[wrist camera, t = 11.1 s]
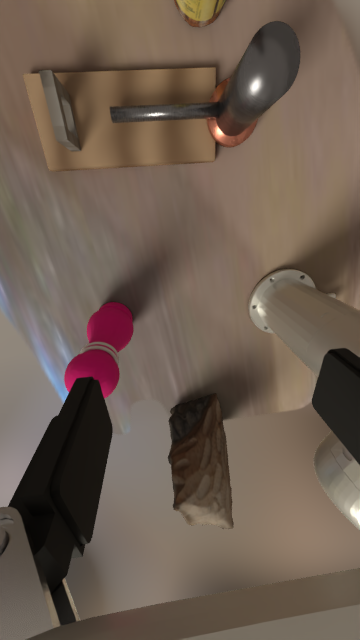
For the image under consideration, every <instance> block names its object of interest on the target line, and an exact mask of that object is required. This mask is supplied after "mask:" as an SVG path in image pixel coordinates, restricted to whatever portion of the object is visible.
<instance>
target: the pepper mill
mask: <svg viewBox="0 0 360 640" xmlns="http://www.w3.org/2000/svg"><path fill="white" fill-rule="evenodd" d="M132 321H133V318H132V314H131V312H130V310H129V309H128V308H127V307H126V306H125V305H123V304H121V303H117V302H110V303H107V304H104V305H103V306H102V307H101V308H100V309H99V311H97V312H95V313H94V314H93V315H92V316H91V318H90V320H89V322H88V325H87V337H88V340H89V344H87V345H86V346H84V347H83V348H82V350H81V352H80V353H79V355H77V356H76V357H74V358H73V359H72V360H71V362H70V363H69V364H68V366H67V369H66V371H65V385H66V388H67V390H68V391H69V392H70V390H71V388H72V386H73V384H74V382H75V380H76V379H77V378H82V377H91V376H92V377H93V378H94V380H99V383H100V386H101V390H102V393H103V396H104V398H106V397H108V396H109V395H110V394H111V393H112V392H113V391H114V389H115V388H116V386H117V383H118V380H119V368H118V363H119V355H118V352H119V351H120V350H122V349H123V348H124V347H125V346H126V345H127V344H128V343H129V341H130V340H131V337H132V335H133V324H132Z"/></svg>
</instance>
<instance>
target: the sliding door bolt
mask: <svg viewBox="0 0 360 640" xmlns="http://www.w3.org/2000/svg"><path fill="white" fill-rule="evenodd" d="M299 64H300V46H299V42H298V39H297V36H296V34H295V32H294V31H293V29H292V28H291V27H290V26H289V25H287V24H286V23H284V22H280V21H274V22H270V23H268V24H266V25H264V26H263V27H262V28H261V29H259V30H258V32H257V33H256V34H255V36H254V37H253V39H252V41H251V42H250V44H249V46H248V48H247V49H246V51H245V53H244V55H243V57H242V58H241V60H240V62H239V64H238V66H237V67H236V69H235V71H234V73H233V75H232V76H231V78H228V79H226V80H224V81H223V82H221V83H220V84H219V85H218V86H217V88H216V89H215V91H214V92H213V94H212V96H211V98H210V101H209V102H202V103H179V104H157V105H134V106H111V107H110V115H111V120H112V123H127V122H148V121H169V120H189V119H206V120H207V127H208V130H209V133H210V135H211V136H212V138H213V139H214V140H215V141H216V142H217V143H218V144H219V145H221V146H224V147H235V146H237V145H239V144H241V143H242V142H244V141H245V140H246V139H247V138H248V137H249V136H250V135H251V133H252V132H253V130H254V128H255V126H256V123H257V120H258V118H259V117H260V116H261V115H262V114H263V113H264V112H265V111H267V110H268V109H269V108H270V107H271V106H272V105H273V104H274V103H275V102H276V101H277V100H279V99H280V98H281V97H282V96H283V95H284V94H285V93H286V92H287V91H288V90H289V89H290V87H291V86H292V84H293V82H294V80H295V78H296V76H297V73H298V69H299Z"/></svg>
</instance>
